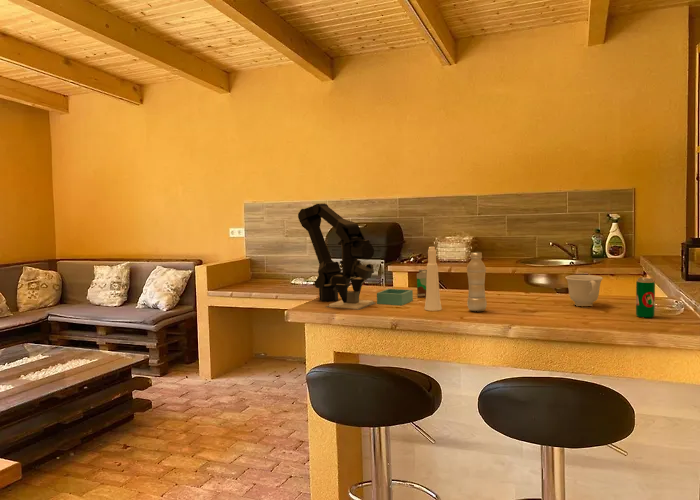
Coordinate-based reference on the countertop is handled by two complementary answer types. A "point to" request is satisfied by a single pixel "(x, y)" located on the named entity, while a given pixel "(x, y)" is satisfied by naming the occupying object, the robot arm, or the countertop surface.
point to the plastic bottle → (476, 283)
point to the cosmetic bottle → (432, 283)
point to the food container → (421, 283)
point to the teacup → (583, 289)
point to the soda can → (645, 297)
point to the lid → (351, 301)
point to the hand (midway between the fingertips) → (351, 300)
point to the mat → (355, 309)
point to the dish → (394, 297)
